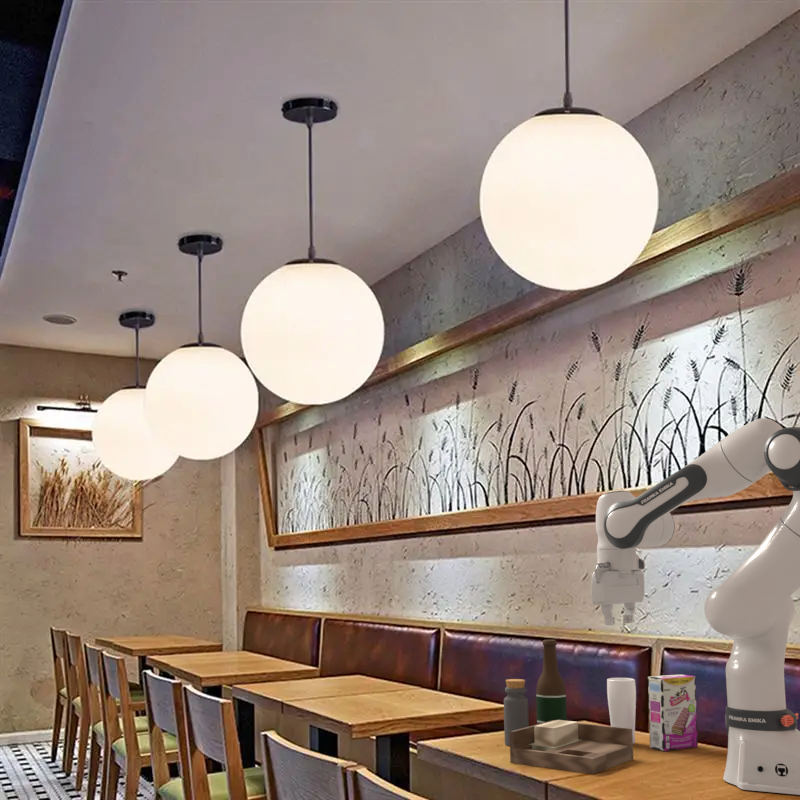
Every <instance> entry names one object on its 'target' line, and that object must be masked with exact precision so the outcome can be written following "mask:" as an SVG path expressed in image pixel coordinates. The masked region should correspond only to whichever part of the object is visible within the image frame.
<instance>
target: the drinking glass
mask: <svg viewBox="0 0 800 800" xmlns="http://www.w3.org/2000/svg"><path fill="white" fill-rule="evenodd" d="M636 688H637V687H636V679H634V678H631V677H610V678H607V679H606V694H607V704H608V705H607V706H608V711H609V719H610V720H609V721H610V726H611V727H621V728H630V729H632V739H633V745H634V744H635V743H636V735H635V734H636V732H635V731H636V708H637V705H636V703H637V689H636Z"/></svg>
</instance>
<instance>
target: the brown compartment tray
mask: <svg viewBox="0 0 800 800" xmlns="http://www.w3.org/2000/svg"><path fill="white" fill-rule="evenodd" d="M552 721H555V720H552ZM552 721H548V722H552ZM548 722H544V723H548ZM544 723H540V724H544ZM540 724H537V723H536V724H532V725H529V727H525V728H521V729H517V730H513V731H510V746H509V752H510V753H509V758H510V761H509V762H510V763H512V764H519V765H527V766H532V767H533V766H535V767H542V768H547V769H554V770H562V771H568V772H576V773H577V772H578V773H582V774H584V773H585V774H591V775H595V774H597V773H600V772H603V771H605V770H609V769H611V768H613V767H616V766H619V765H622V764H624V763H627V762H630V761H633V760H634V744H633V739H632V729H630V728H621V727H611V725H600V724H590V723H584V722H581V723H580V722H578V740H577V741H574V742H570V743H567V744H564V745H560V746H557V747H548V746H540V745H535V738H534V726H537V725H540Z"/></svg>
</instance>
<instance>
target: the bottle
mask: <svg viewBox="0 0 800 800" xmlns="http://www.w3.org/2000/svg"><path fill="white" fill-rule="evenodd" d="M505 684H506V687H505V688H504V692H505V693H507V694H506V695H507V696H505V697H504V698H503V724H504V725H503V726H504V728H503V729H504V732H503V733H504V745H505V746H507V745H508V746H507V747H510V731H513V730H517V729H521V728H525V727H529V726H530V723H529V720H530V719H529V699H528V697H526V696H525V693H526V692H527V687H525V684H526V680H525V679H520V678H510V679H505Z"/></svg>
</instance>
